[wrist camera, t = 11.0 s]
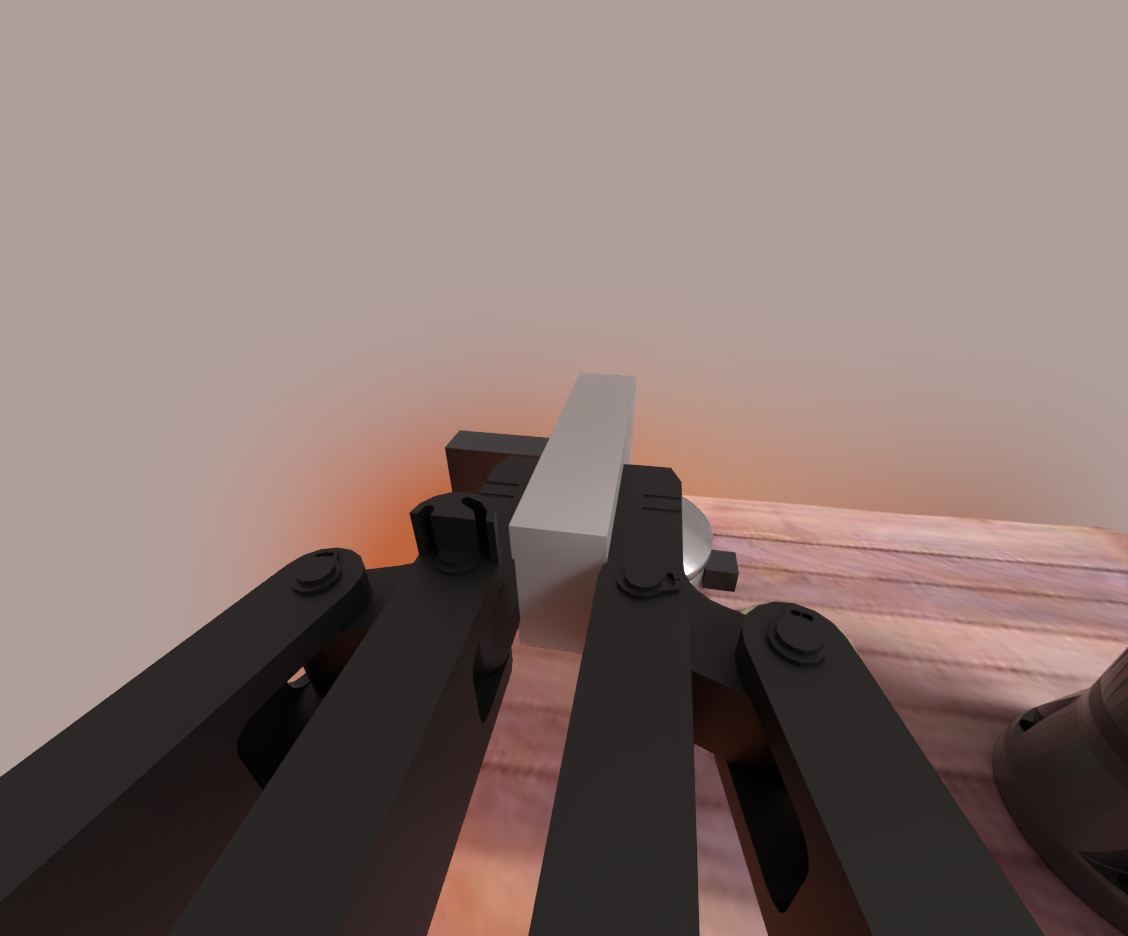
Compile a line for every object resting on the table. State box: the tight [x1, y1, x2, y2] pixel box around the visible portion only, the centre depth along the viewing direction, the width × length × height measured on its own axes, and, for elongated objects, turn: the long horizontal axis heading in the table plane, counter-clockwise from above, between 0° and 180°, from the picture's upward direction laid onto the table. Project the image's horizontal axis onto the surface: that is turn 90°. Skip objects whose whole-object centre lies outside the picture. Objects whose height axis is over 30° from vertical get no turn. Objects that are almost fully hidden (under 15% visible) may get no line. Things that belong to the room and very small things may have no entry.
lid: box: [445, 431, 713, 581], centre depth 46 cm, size 25×16×9 cm, turn 78°
